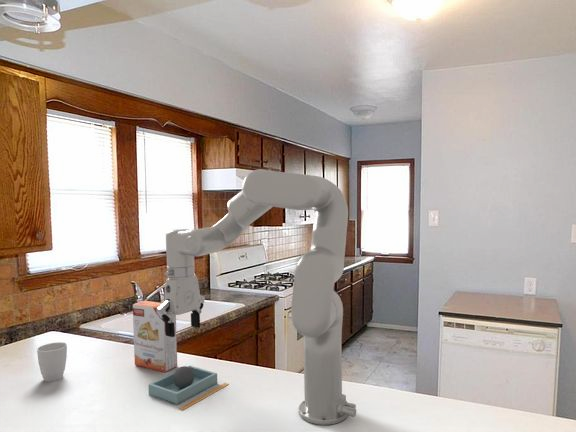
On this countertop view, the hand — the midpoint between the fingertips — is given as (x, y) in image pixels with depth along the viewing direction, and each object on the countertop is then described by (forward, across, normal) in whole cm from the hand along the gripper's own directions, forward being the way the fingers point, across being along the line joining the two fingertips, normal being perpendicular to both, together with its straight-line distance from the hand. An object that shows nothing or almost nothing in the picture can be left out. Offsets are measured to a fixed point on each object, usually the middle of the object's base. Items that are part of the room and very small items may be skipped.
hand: (183, 331), depth 120 cm
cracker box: (+17, +7, +22) cm, 28 cm away
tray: (+17, 0, -1) cm, 17 cm away
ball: (+16, 0, +1) cm, 17 cm away
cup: (+16, -16, +42) cm, 48 cm away
